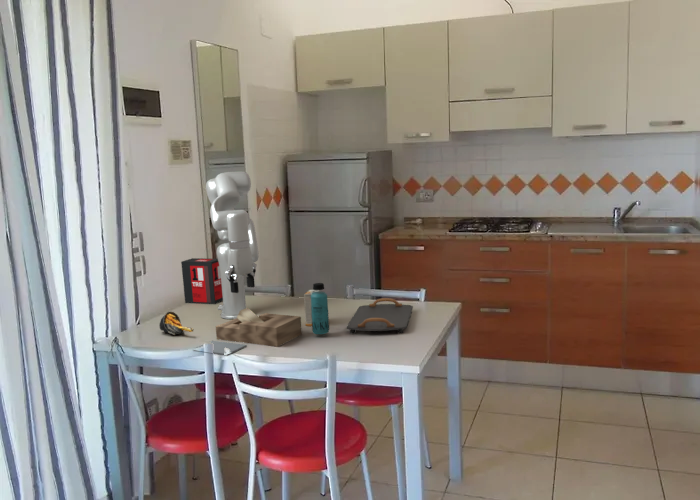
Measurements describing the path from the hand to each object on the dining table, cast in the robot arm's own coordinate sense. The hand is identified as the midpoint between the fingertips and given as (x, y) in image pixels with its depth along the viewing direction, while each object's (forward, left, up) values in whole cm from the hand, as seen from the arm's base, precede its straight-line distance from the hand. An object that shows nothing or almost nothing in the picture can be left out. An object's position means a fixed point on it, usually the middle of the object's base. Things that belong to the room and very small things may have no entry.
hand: (243, 289), depth 247 cm
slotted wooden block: (+6, 0, -18) cm, 19 cm away
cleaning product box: (-56, +40, -18) cm, 71 cm away
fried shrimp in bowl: (-28, -8, -18) cm, 34 cm away
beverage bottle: (+28, +9, -18) cm, 34 cm away
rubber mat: (+1, -17, -18) cm, 25 cm away
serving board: (+41, +34, -19) cm, 56 cm away
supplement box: (+16, +23, -18) cm, 33 cm away
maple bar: (+3, 0, -14) cm, 14 cm away
